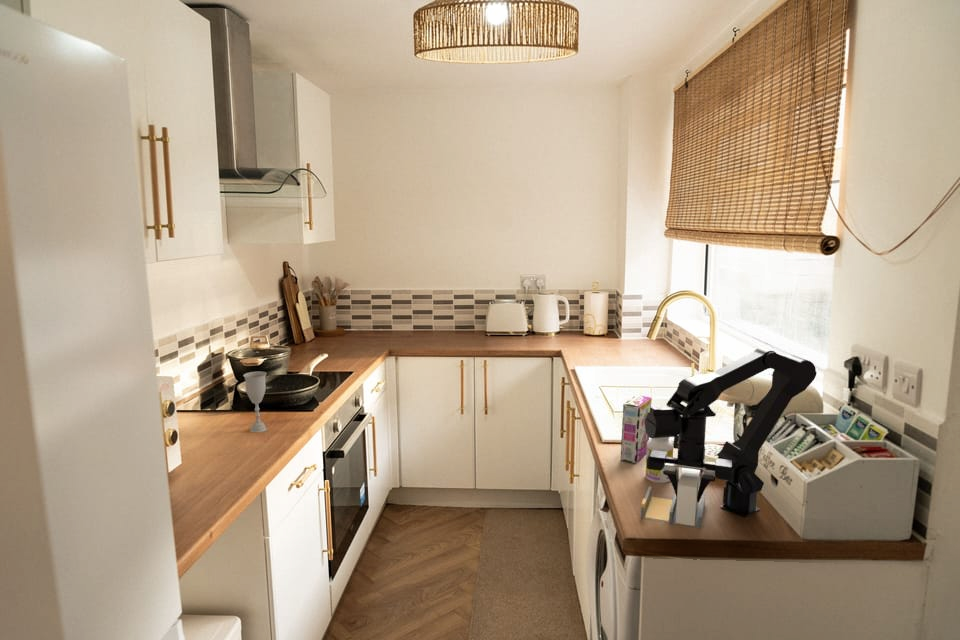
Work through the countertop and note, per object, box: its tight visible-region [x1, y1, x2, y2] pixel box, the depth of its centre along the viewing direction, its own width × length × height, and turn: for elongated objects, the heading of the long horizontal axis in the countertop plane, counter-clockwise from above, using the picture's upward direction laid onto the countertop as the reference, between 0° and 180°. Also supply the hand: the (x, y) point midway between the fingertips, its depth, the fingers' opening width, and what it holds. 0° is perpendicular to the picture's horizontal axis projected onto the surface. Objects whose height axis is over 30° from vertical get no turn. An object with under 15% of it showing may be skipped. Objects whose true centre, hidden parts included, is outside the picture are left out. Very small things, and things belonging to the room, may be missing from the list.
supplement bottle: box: [645, 437, 674, 484], centre depth 176 cm, size 7×7×13 cm
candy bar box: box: [620, 394, 652, 464], centre depth 191 cm, size 11×5×16 cm, turn 149°
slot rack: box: [640, 486, 706, 529], centre depth 157 cm, size 13×13×4 cm
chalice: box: [242, 370, 268, 434], centre depth 213 cm, size 7×7×18 cm
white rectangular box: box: [676, 467, 701, 527], centre depth 156 cm, size 4×12×9 cm, turn 159°
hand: (688, 500), depth 156 cm, fingers closed on white rectangular box, 4 cm apart
